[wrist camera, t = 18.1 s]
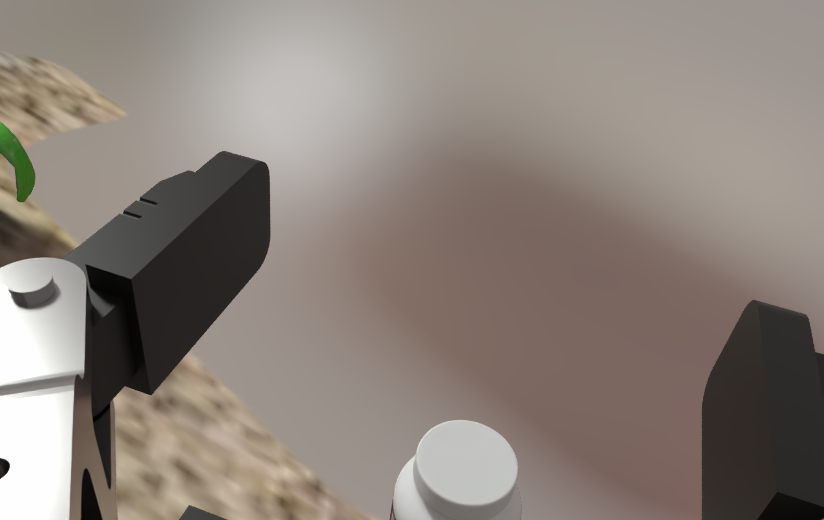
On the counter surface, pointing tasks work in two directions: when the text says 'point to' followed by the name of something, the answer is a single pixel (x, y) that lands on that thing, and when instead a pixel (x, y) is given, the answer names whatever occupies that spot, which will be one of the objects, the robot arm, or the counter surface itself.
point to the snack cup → (17, 162)
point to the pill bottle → (459, 476)
